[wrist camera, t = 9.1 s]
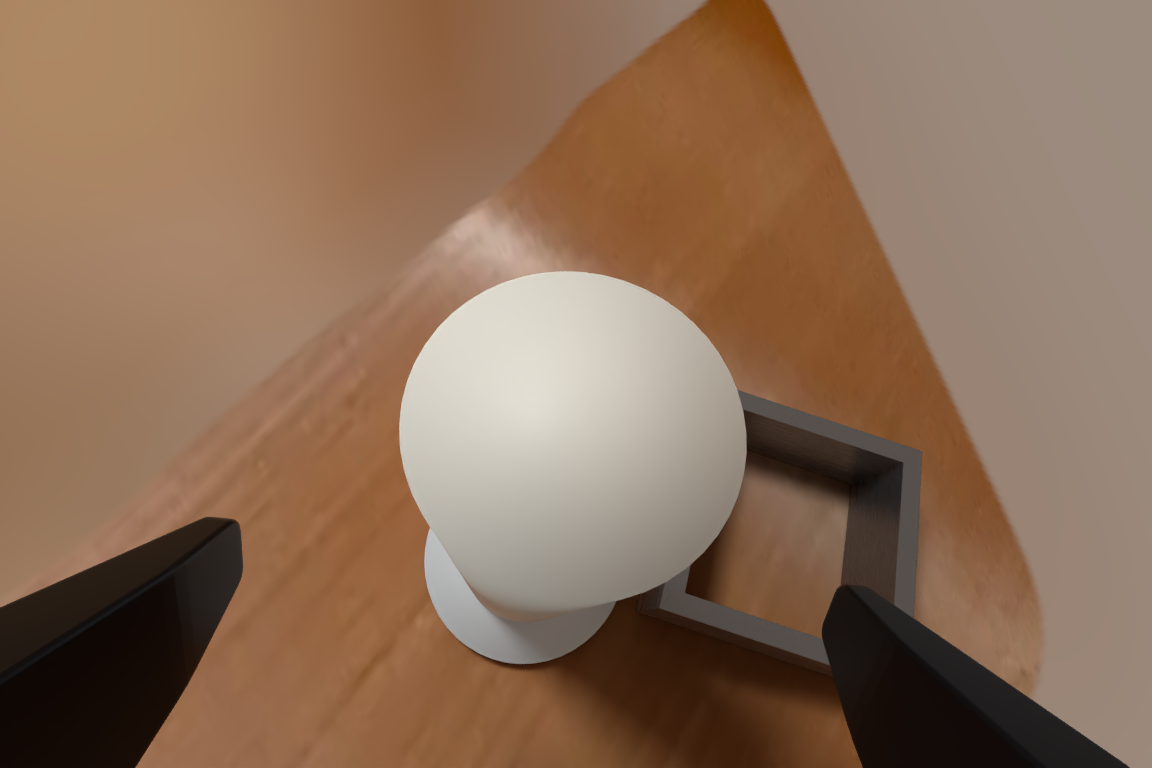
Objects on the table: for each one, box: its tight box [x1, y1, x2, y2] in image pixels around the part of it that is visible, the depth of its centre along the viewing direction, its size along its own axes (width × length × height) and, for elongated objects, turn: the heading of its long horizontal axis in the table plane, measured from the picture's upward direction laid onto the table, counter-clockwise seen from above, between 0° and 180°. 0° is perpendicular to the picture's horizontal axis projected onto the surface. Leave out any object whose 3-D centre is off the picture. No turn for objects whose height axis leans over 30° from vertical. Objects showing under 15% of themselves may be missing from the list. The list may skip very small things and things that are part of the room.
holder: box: [636, 390, 922, 678], centre depth 19 cm, size 7×7×3 cm
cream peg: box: [399, 271, 747, 622], centre depth 13 cm, size 4×4×13 cm
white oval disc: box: [424, 528, 616, 664], centre depth 19 cm, size 6×6×1 cm
